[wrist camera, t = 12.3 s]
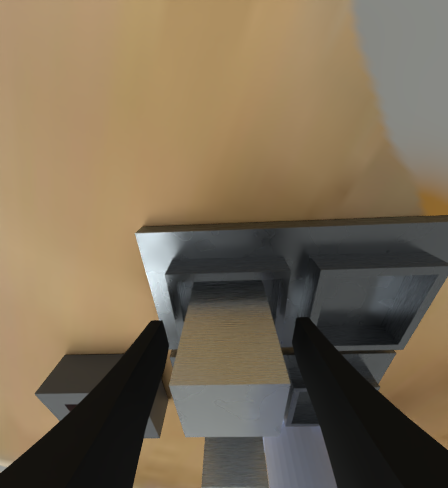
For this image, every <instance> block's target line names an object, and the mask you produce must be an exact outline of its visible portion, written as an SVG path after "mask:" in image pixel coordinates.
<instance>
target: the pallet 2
mask: <svg viewBox="0 0 448 488" xmlns="http://www.w3.org/2000/svg"><path fill="white" fill-rule="evenodd" d="M177 350H178V349H172V351H171V355H170V360H171V363H172V367H173V366H174V362H175V358H176V354H177ZM281 351H282V354H283V358H284V362H285V365H286V369H287V373H288V376H289V380H290V389H289V394H288V399H287V404H286V408H285V413H284V423H285V427H305V426H320V425H319V422H318V419H317V416H316V413H315V411H314V408H313V405H312V402H311V400H310V397H309V394H308V392H307V389H306V386H305V384H304V381H303V378H302V375H301V373H300V370H299V367H298V364H297V361H296V357H295V353H294V349H293V347H281ZM339 352H340V353H341V354H342V355H343V357H344V358H345V359H346V360H347V361H348V362H349V363H350V364H351V365H352V366H353V367H354V368H355V369H356V370H357V371H358V372H359V373H360V374H361V375H362V376H363V377H364V378H365V379H366V380H367V381H368V382H369V383H370V384H371V385H372V386H373V387H374V388H375V389H377V390H379V389H380V386H379V385H378V384H379V382H380V380H381V379H382V377H383V375H384V373H385V372H386V370H387V368H388V367H389V365H390V363H391V362H392V360H393V358H394V356H395V355H396V352H395V351H394V350H355V351H339Z"/></svg>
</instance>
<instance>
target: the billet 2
mask: <svg viewBox="0 0 448 488" xmlns="http://www.w3.org/2000/svg"><path fill="white" fill-rule="evenodd" d="M202 488H269V484H268V476H267V468H266V460H265V452H264V444H263V437H205V446H204V460H203V474H202Z"/></svg>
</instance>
